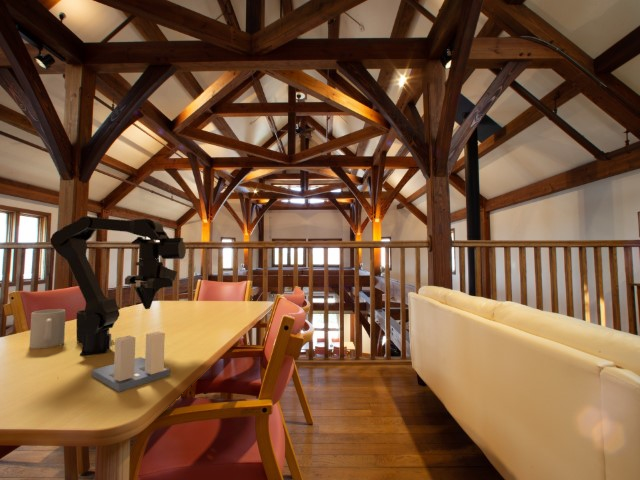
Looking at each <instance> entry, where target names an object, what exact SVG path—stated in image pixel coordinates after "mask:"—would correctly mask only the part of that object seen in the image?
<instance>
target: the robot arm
mask: <svg viewBox="0 0 640 480" xmlns="http://www.w3.org/2000/svg"><path fill="white" fill-rule="evenodd" d="M97 230H102V231H103V230H104V231H113V232H124V233H125V232H126V233H130V234H132V235H136V236H137V237H136V238H135V239H134V240H133V241H131V244H132V245H138V261H136V262H135V266H137V268H138V270H137V274H132V275H127V276H126V277H125V278H124V285H127V286H129V285H133V284H134V285H135V286H133V289H134V290H135V292H136V293H137V296H138V298H139V299H140V301H141V304H142V305H143V308H144V309H145V310H150V309H151V307H152V303H153V301H154V299H155V296H156V294H157V293H158V291H159V290H161V289H163V288H170V287H171V288H172V287H174V281H176V277H177V275H178V271H176V270H173V269H171V268H168V267H167V266H164V264H163V263H164V262H162V261H160V257H161V258H162V259H163V260H183V259H184V258H185V257H186V253H187V247H186V244H185V242H184V238H183V237H169V235H168V234H167V233H166V232H165V230H164V226H163V224H162V223H161V221H159V220H156V219H152V218H151V219H150V218H146V217H145V218H134V219H116V218H104V217H96V216H90V215H84V216H82V217H80V218H78V219H77V220H76V221H74V222H72V223H70V224H68V225H66V226H63V227H62V228H61V229H60V230H56V231H55V232H54V233H52V235H51V237H50V238H49V241H50V242H49V243H50V245H51V246H52V248H53V249H54V251H55V252H56V253H57V254H58V255H59V256H60V257H61V258H63V259H64V260H65V261H66V262H67V264H68V266H69V268H70V270H71V273H72V275H73V278H74V279H75V282H76V283H77V286H78V288H79V291H80V292H81V295H82V297H83V299H84V301H85V307H84V310H85V317H86V320H85V321H84V322H83V323H81V324H80V325H79V326H78V327H77V326H76V332H77V331H78V334H79V335H82V343H81V351H80V353H79V356H85V355H86V356H87V355H96V354H105V353H107V352H108V350H109V349H110V348H111V347H112V333H110V329H112V328H113V327H114V325H115V323H116V322H117V321H118V319H119V317H120V311H121V308H120V307H119V306H118V303H117V300H116V298H115V297H114V298H108V297H106V296H105V294H104V291H103V289H102V286H100V283H99V281H98V279H97V277H96V275H95V272H94V270H93V268H92V265H91V263H90V261H89V259H88V257H87V251H88V244H87V242H88V240H90V239H91V238H92V237H93V235H94V234H95V232H96V231H97ZM144 237H145V239H144ZM155 241H159V242H155ZM119 310H120V311H119Z"/></svg>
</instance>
